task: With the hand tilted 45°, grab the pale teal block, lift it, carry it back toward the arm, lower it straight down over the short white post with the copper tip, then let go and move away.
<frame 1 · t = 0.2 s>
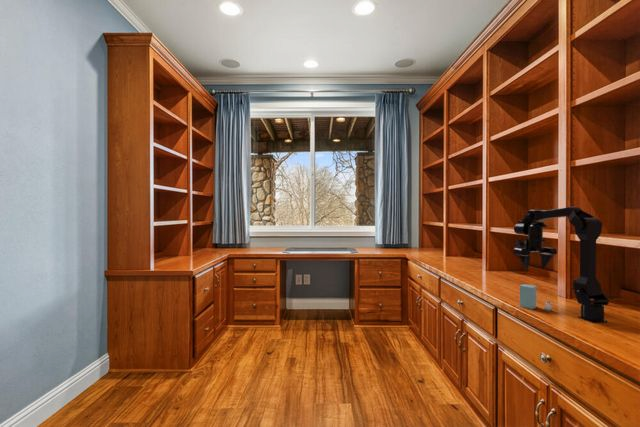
hand: (534, 269, 153), 15 cm above the worktop, tool pointing down, fingers open, 9 cm apart
post: (548, 310, 137), on the worktop
pale teal block: (528, 306, 143), on the worktop
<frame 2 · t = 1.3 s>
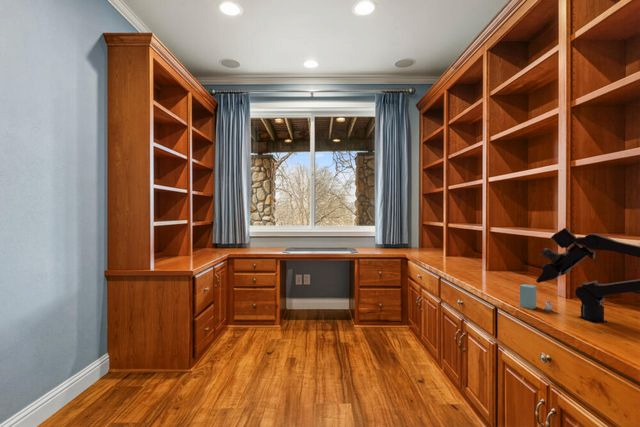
hand: (540, 280, 139), 12 cm above the worktop, tool tilted 45°, fingers open, 9 cm apart
nothing on the worktop moved.
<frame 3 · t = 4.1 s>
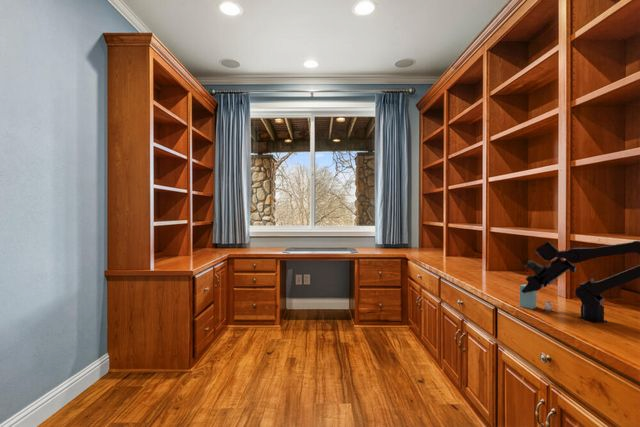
hand: (524, 291, 144), 7 cm above the worktop, tool tilted 45°, fingers closed on pale teal block, 5 cm apart
pale teal block: (528, 306, 143), on the worktop, touching gripper
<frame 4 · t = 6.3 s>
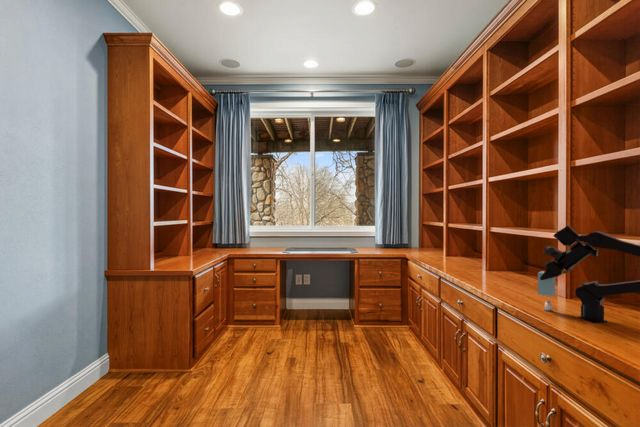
hand: (542, 278, 138), 13 cm above the worktop, tool tilted 45°, fingers closed on pale teal block, 5 cm apart
pale teal block: (546, 294, 137), point 7 cm above the worktop, touching gripper
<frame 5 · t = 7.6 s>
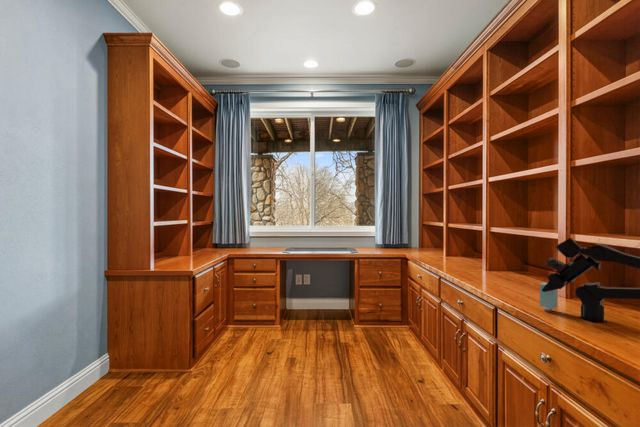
hand: (544, 289, 138), 9 cm above the worktop, tool tilted 45°, fingers closed on pale teal block, 5 cm apart
pale teal block: (548, 306, 137), point 2 cm above the worktop, touching gripper
when the fingers open (8 cm above the worktop, at t = 8.6 s): pale teal block drops 1 cm, on the worktop.
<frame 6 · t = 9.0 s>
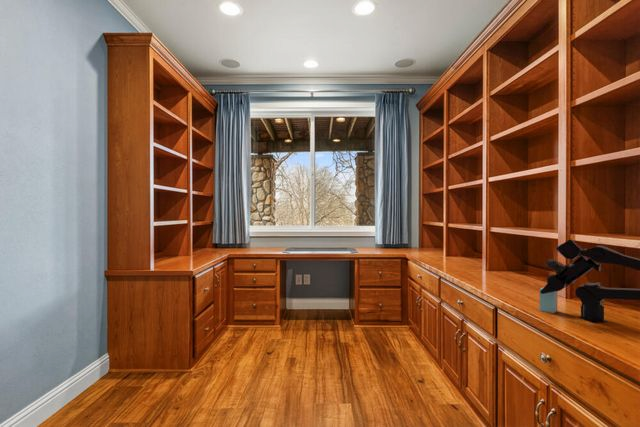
hand: (544, 291, 138), 8 cm above the worktop, tool tilted 45°, fingers open, 9 cm apart
pale teal block: (548, 310, 137), on the worktop
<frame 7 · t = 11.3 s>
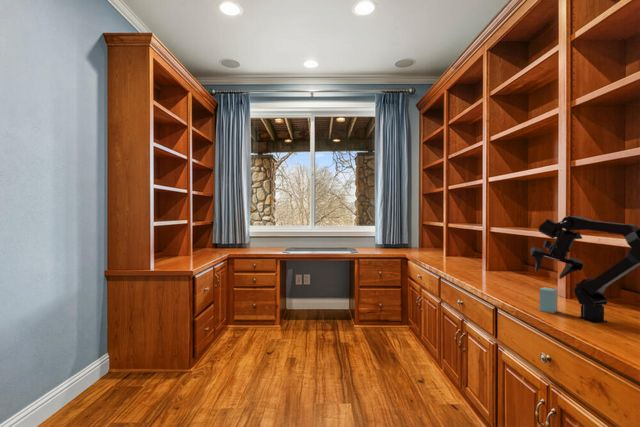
hand: (547, 274, 142), 14 cm above the worktop, tool tilted 25°, fingers open, 9 cm apart
nothing on the worktop moved.
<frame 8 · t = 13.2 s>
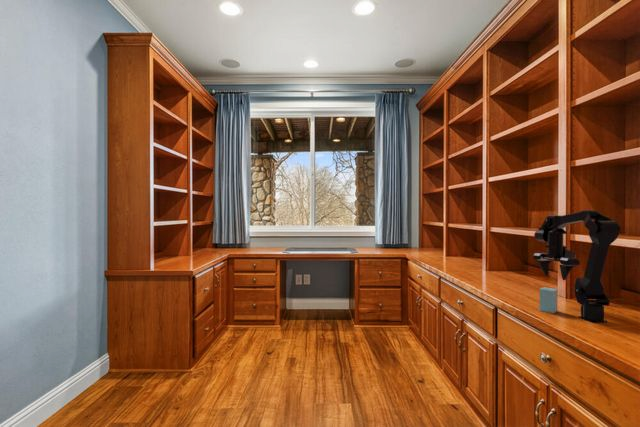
hand: (555, 277, 146), 12 cm above the worktop, tool pointing down, fingers open, 9 cm apart
nothing on the worktop moved.
at the end: pale teal block 0.0 cm off-centre on the post, point 0.0 cm above the post's base; pale teal block tilted 0°; the gripper is holding nothing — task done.
